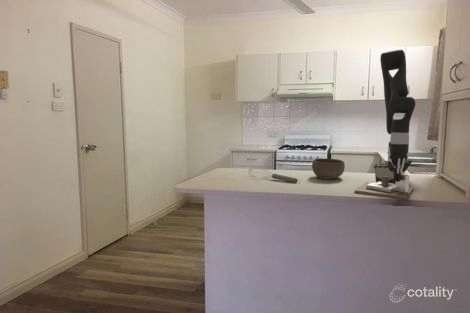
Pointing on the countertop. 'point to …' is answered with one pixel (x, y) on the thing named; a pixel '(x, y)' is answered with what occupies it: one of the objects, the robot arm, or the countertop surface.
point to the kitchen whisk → (279, 177)
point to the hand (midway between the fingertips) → (397, 181)
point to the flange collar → (392, 185)
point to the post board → (385, 181)
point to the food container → (383, 173)
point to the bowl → (328, 168)
